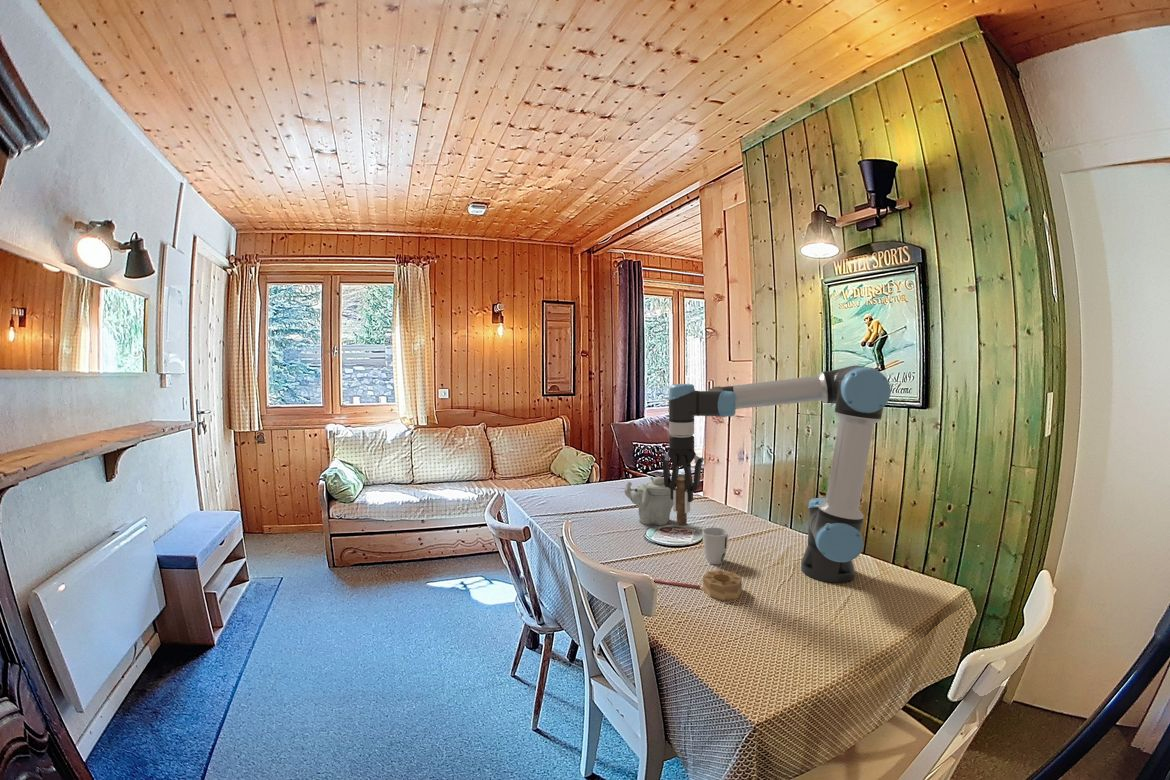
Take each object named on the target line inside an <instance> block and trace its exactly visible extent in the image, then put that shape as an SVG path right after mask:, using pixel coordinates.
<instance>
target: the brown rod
mask: <svg viewBox="0 0 1170 780" xmlns="http://www.w3.org/2000/svg"><path fill="white" fill-rule="evenodd" d="M676 488H677V511H676V525H677V526H681V527H682V526H686V525H687V524H688V523H687V522H688V521H687V520H688V519H687V518H688V517H687V515H688V513H685V491H687V486H686V479H685V474H682V473H681V474H678V477H677V487H676Z"/></svg>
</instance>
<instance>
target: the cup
mask: <svg viewBox="0 0 1170 780" xmlns="http://www.w3.org/2000/svg"><path fill="white" fill-rule="evenodd" d="M728 536H729V531H728V530H727V529H725V528H721V527H706V528H705V527H704V528H703V529H702V545H703V549H704V555H705V558H706V561H707V563H709V564H712V565H721V564H723V563H724V560H725V557H726V553H727V547H728V538H729V537H728Z"/></svg>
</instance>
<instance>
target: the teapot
mask: <svg viewBox="0 0 1170 780" xmlns="http://www.w3.org/2000/svg"><path fill="white" fill-rule="evenodd" d="M650 480H651V482H647V483H645V484H644V483H640V484H638V485H637V486H636V487H634V488H633V489H632V488H631V486H632V485H633V483H632V482H631V481H628V482H627V483H626V485H625V487H624V491H623V492H624V494H625V496H626V497H627V498H629V500H630V501H631V503H632V504H634V505H636V506H637V507H638V517H639V520H638V522H639V524H641V525H644V526H645V525H646V526H647V525H648V526H649V525H656V526H665V525H667V524H668V522H669V521H670V515H671V511H672V508H673V500H671V490H670V488H668V487H665V485H664V477H662V476H659V475H658V476H655V477H652V476H651V477H650Z"/></svg>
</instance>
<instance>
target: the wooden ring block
mask: <svg viewBox="0 0 1170 780" xmlns="http://www.w3.org/2000/svg"><path fill="white" fill-rule="evenodd" d="M742 582H743V579H742V577H740V576H739V575H737V573H735V572H731V571H727V570H721V569H718V570H717V569H716V570H710V571H707V572H706V573H705V574H704V575H703V577H702V591H703V592H704V593H705V594H706V595H707V596H709V597H710V598H713V599H718V600H723V601H728V600H729V601H730V600H736V599H738V598H739V597H740V595H741V594H742V591H743V590H742V587H743V586H742V585H743V584H742Z"/></svg>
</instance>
